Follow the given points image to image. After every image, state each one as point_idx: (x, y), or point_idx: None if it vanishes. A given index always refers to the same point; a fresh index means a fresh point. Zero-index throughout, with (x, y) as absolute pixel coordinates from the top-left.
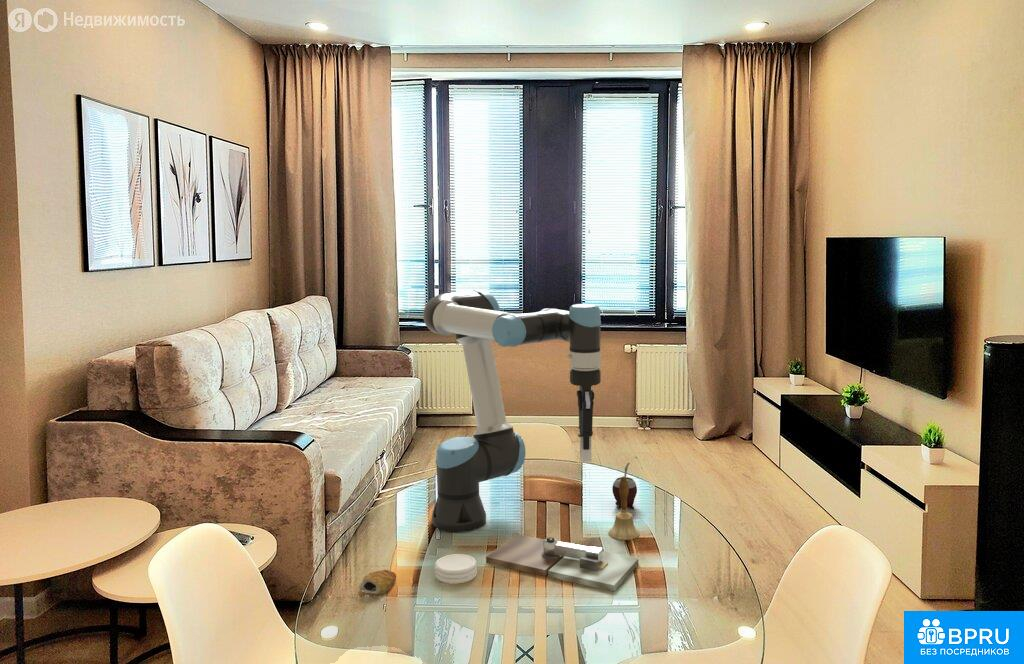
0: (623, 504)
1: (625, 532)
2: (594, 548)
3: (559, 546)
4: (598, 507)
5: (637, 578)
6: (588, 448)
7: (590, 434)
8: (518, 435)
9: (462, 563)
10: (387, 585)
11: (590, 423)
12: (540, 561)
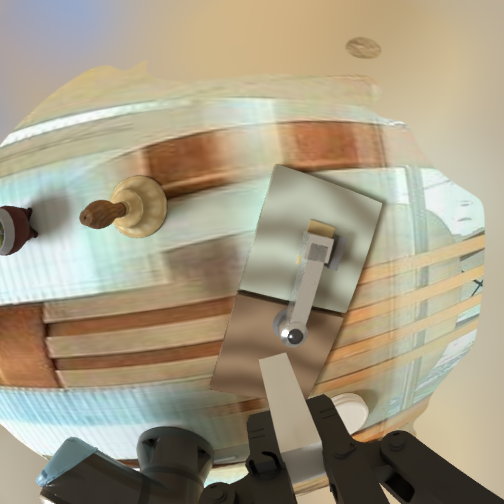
0: (122, 210)
1: (155, 201)
2: (314, 249)
3: (307, 315)
4: (40, 271)
5: (329, 165)
6: (328, 400)
7: (411, 440)
8: (44, 479)
9: (347, 415)
10: None
11: (464, 483)
12: (314, 332)
